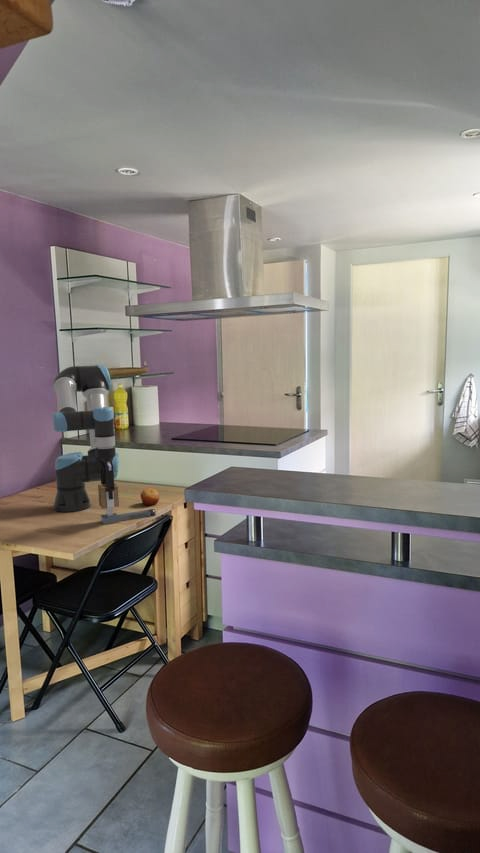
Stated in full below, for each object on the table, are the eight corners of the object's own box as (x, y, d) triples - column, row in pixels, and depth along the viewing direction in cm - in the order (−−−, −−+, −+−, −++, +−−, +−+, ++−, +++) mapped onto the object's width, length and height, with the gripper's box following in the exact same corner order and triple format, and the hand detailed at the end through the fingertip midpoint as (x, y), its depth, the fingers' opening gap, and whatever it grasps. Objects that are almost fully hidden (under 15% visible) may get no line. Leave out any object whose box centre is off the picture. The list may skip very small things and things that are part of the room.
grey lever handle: (100, 521, 214) (99, 504, 213) (153, 512, 223) (152, 496, 222) (103, 524, 209) (102, 507, 208) (157, 516, 218) (156, 499, 217)
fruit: (149, 496, 243) (154, 483, 239) (159, 508, 239) (164, 494, 235) (134, 500, 237) (139, 486, 233) (143, 512, 233) (148, 498, 229)
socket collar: (99, 504, 213) (97, 485, 212) (115, 502, 216) (114, 482, 215) (102, 508, 208) (101, 488, 207) (119, 506, 210) (117, 486, 209)
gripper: (90, 444, 216) (94, 500, 219) (100, 451, 198) (104, 512, 202) (109, 442, 219) (113, 497, 222) (120, 449, 202) (124, 509, 205)
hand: (108, 504), depth 212 cm, fingers closed on socket collar, 6 cm apart
